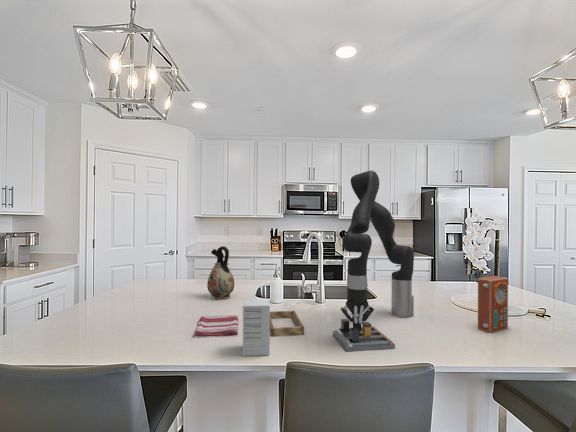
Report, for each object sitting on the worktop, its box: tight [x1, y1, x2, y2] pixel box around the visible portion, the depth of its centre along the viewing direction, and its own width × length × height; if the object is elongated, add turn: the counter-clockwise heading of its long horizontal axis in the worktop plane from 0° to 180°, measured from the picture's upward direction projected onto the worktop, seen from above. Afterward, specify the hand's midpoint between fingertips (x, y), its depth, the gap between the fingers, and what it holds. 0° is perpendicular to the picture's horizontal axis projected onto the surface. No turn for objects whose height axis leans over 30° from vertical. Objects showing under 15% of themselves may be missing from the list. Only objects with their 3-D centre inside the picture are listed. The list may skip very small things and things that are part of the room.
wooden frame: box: [270, 310, 305, 337], centre depth 139 cm, size 13×23×3 cm, turn 8°
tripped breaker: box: [361, 321, 372, 336], centre depth 123 cm, size 2×3×5 cm
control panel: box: [477, 275, 509, 334], centre depth 137 cm, size 21×7×15 cm
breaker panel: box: [332, 318, 396, 352], centre depth 123 cm, size 18×16×6 cm
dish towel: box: [193, 314, 239, 337], centre depth 138 cm, size 17×23×3 cm
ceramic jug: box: [206, 245, 235, 300], centre depth 187 cm, size 17×15×30 cm
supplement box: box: [242, 298, 271, 357], centre depth 114 cm, size 10×9×17 cm
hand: (356, 332), depth 122 cm, fingers closed
